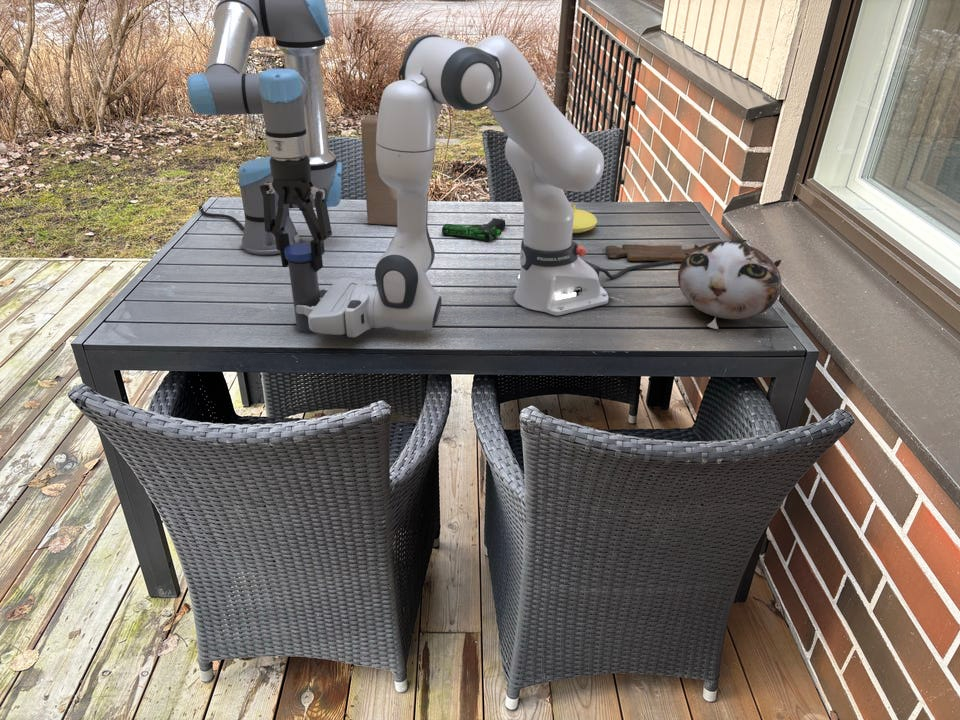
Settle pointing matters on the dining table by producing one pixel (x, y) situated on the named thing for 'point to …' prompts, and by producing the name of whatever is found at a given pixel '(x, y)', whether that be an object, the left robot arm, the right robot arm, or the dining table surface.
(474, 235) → the handgun
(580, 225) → the yellow thick rounded disc
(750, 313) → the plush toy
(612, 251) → the brown notched plank
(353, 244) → the dining table surface
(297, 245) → the lid
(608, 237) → the dining table surface
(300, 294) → the jar
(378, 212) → the decorative block
